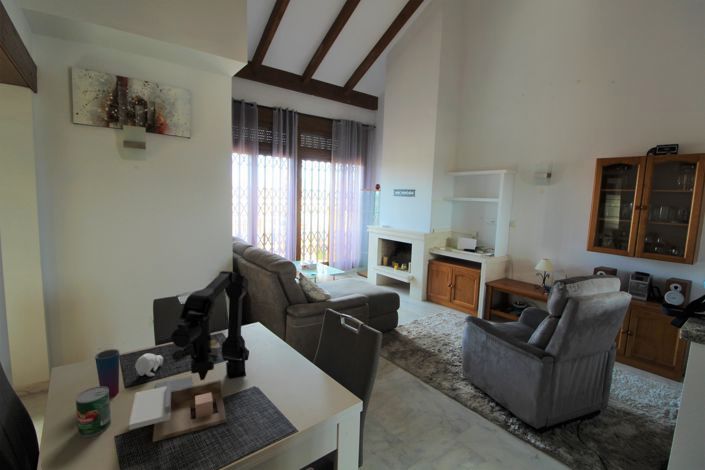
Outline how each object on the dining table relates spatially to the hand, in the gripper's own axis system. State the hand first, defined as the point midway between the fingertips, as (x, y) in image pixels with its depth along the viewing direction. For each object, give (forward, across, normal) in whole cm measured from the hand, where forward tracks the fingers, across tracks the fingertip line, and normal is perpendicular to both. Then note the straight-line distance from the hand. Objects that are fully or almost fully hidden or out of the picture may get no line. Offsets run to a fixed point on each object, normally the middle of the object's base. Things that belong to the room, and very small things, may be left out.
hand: (202, 378), depth 108 cm
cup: (+12, -23, -29) cm, 39 cm away
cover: (+6, 0, -14) cm, 15 cm away
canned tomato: (+12, -5, -30) cm, 33 cm away
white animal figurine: (+12, -35, -17) cm, 41 cm away
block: (+12, 0, 0) cm, 12 cm away
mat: (+12, -18, -9) cm, 23 cm away
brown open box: (+12, 0, -4) cm, 12 cm away
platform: (+13, -41, +5) cm, 43 cm away
